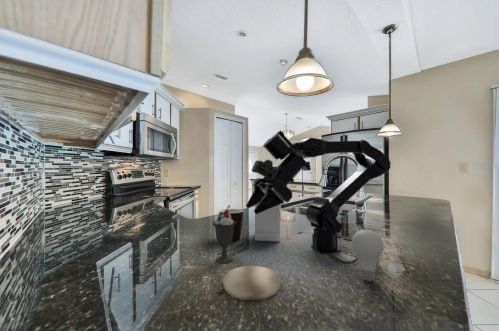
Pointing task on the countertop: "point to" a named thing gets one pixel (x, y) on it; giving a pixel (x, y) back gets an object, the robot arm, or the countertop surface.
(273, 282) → the coaster
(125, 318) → the countertop surface
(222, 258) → the sundae
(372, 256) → the lightbulb
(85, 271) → the countertop surface
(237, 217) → the coffee mug
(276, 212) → the supplement box
